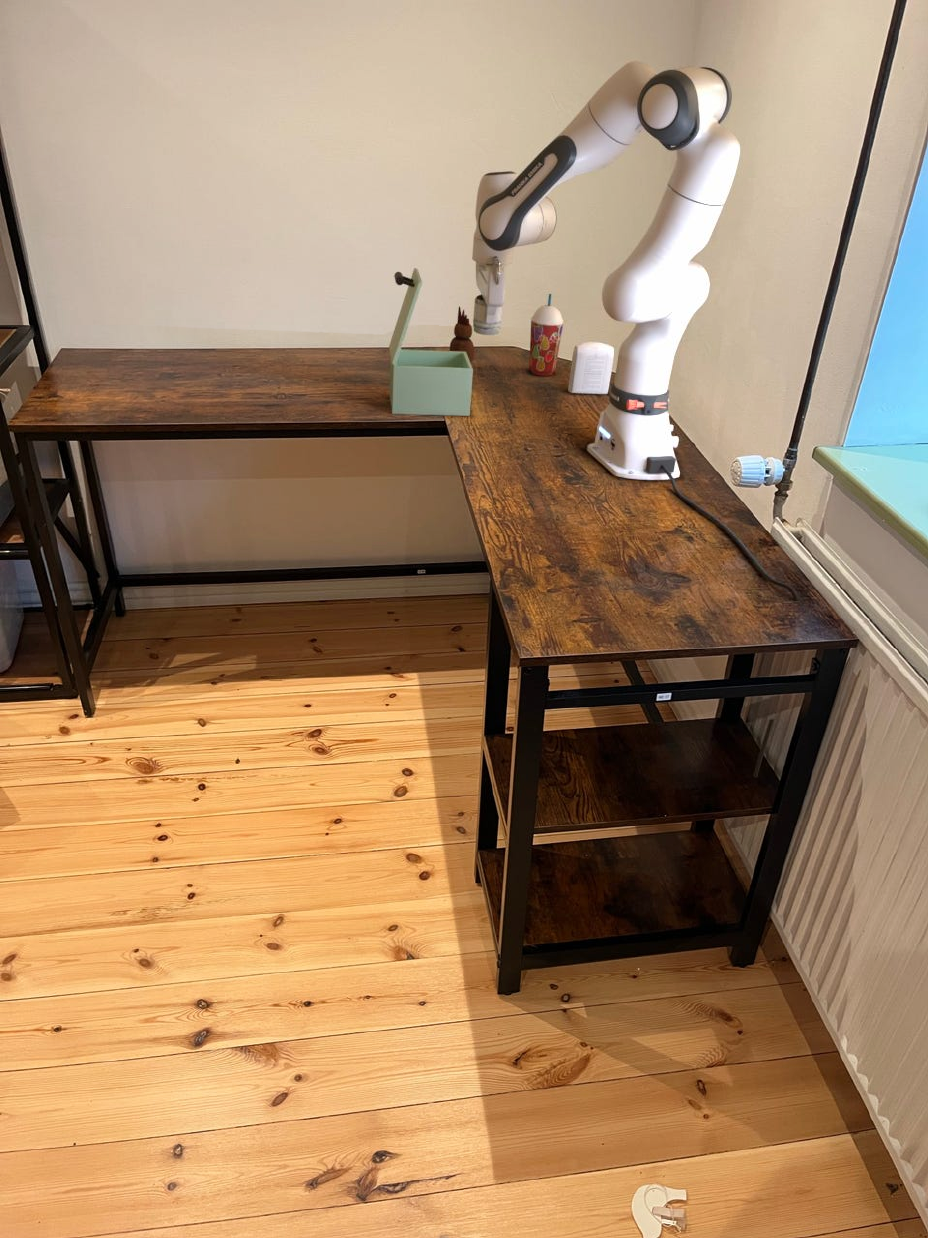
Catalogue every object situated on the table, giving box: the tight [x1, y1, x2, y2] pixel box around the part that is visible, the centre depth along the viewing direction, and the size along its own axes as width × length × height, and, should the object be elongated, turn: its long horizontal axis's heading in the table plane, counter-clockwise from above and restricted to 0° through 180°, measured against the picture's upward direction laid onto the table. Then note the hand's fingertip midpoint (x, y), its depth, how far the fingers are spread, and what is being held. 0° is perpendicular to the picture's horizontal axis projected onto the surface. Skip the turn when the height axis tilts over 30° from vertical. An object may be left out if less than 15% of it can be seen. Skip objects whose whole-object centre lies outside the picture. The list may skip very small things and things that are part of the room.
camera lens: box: [472, 293, 504, 336], centre depth 214 cm, size 6×6×8 cm
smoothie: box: [528, 293, 565, 377], centre depth 246 cm, size 8×8×20 cm
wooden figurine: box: [449, 306, 475, 364], centre depth 247 cm, size 7×6×15 cm
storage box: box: [388, 348, 474, 417], centre depth 220 cm, size 18×14×11 cm
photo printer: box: [567, 341, 615, 395], centre depth 237 cm, size 10×4×12 cm, turn 98°
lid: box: [388, 267, 423, 365], centre depth 211 cm, size 18×14×5 cm
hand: (487, 317), depth 214 cm, fingers closed on camera lens, 6 cm apart
